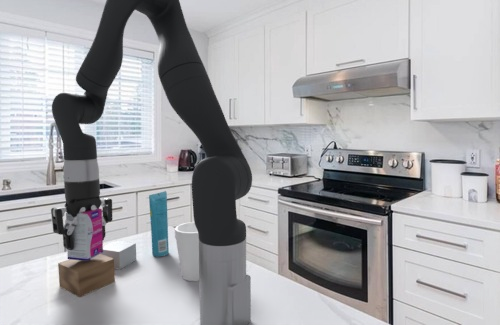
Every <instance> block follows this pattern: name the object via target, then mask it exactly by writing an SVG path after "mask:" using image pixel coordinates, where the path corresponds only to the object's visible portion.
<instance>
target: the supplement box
mask: <svg viewBox="0 0 500 325" xmlns="http://www.w3.org/2000/svg"><path fill="white" fill-rule="evenodd" d="M101 215H102V216H103V208H99V209H98V210H95V211H91V210H90V211H85V212H84V213H80V214H78V221H79V223H78V225H77V226H75V228H74V230H73V232H72V234H73V243H74V249H73V250H67V249H66V251H67V252H66V253H67V260H69V259H70V260H82V261H88V260H90V259H91V258H93V257H95V256H97V255H98V254H101V253H102V252H103V247H104V245H103V244H104V242H103V241H104V240H103V236H102V217H101ZM73 219H74V217H73V216H72V215H71V214H68V213H67V212H65V221H66V220H69V221H73ZM69 225H70V224H69Z"/></svg>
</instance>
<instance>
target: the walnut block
mask: <svg viewBox="0 0 500 325" xmlns="http://www.w3.org/2000/svg"><path fill="white" fill-rule="evenodd" d="M57 267H58V268H57V269H58V280H59V282H58V283H59V284H58V285H59V288H61V289H63V290H65V291H67V292H68V293H71V294H73V295H75V296H76V297H79V298H81V297H84V296H85V295H88V294H90V293H92V292H95V291H97V290H99V289H101V288H104V287H106V286H108V285H111V284H113V283H115V282H116V274H115V269H114V259H113V258H111V257H108V256H105V255H102V254H98V255H97V256H95V257H93V258H91V259H90V260H88V261H82V260H70V259H66V260H64V261H61V262H57Z"/></svg>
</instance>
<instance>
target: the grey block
mask: <svg viewBox="0 0 500 325" xmlns="http://www.w3.org/2000/svg"><path fill="white" fill-rule="evenodd" d="M101 254H102V255H105V256H108V257H111V258H113V259H114V270H122V269H123V268H125V267H127V266H128V265H130V264H131V263H133V262H134V261H136V260H137V244H136V242H128V241H123V240H122V241H121V240H115V241H113V242H110V243H109V244H106V245H103V252H102V253H101Z"/></svg>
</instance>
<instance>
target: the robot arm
mask: <svg viewBox="0 0 500 325" xmlns="http://www.w3.org/2000/svg"><path fill="white" fill-rule="evenodd" d="M135 11H137V12H139V13H140V14H143V15H144V16H146V17H147V18H148V20H149V21H150V23H151V26H152V27H153V29H154V32H155V34H156V37H157V40H158V42H159V50H158V57H157V58H158V59H157V74H158V77H159V80H160V84H161V86H162V88H163V91H164V94H165V96H166V99H167V101H168V104H170V106H171V107H172V109H173V111H174V112H175V114H177V115H178V117H179V118H180V119H181V120H182V121H183V122H184V124H185V125H186V126H187V127H188V128H189V129H190V131H192V132H193V134H194V135H195V136H196V138H197V139H198V141H199V143H200V144H201V146H202V149H203V151H204V154H205V155H206V157H205V158H203V159H201V160H200V161H198V163H197V164H196V165H195V167H194V169H193V172H192V176H191V198H192V199H191V200H192V212H193V213H192V214H193V222H195V226H196V228H197V230H198V235H199V280H198V284H199V285H198V288H199V323H200V324H199V325H248V324H249V323H250V322H251V321H252V320H251V317H252V314H251V312H252V310H251V306H252V305H251V295H252V294H251V293H252V292H251V288H252V287H251V275H249V274H247V226H246V223H245V222H244V221H243V220H241V219H239V218H238V217H237V216H238V215H237V202H236V200H240V199H241V198H243V197H245V196H246V195H248V194H249V191H250V190H251V189H252V185H253V174H252V170H251V167H250V165H249V162H248V161H247V158H246V157H245V154H244V153H243V151H242V149H241V147H240V146H239V143H238V141H237V140H236V138H235V136H234V134H233V133H232V130H231V128H230V126H229V125H228V122H227V119H226V117H225V114H224V112H223V109H222V107H221V105H220V102H219V99H218V98H217V95H216V93H215V90H214V88H213V85H212V82H211V79H210V77H209V74H208V72H207V70H206V68H205V67H206V66H205V65H204V63H203V60H202V59H201V56H200V54H199V52H198V49H197V47H196V44H195V42H194V40H193V38H192V35H191V33H190V31H189V28H188V25H187V22H186V19H185V16H184V12H183V9H182V5H181V3H180V0H106V1H105V4H104V6H103V11H102V14H101V17H100V20H99V24H98V27H97V30H96V33H95V36H94V39H93V41H92V44H91V46H90V48H89V50H88V52H87V54H86V56H85V58H84V59H83V62H82V63H81V66H80V67H79V69H78V70H77V73H76V75H75V82H76V84H77V85H78V86H79V87H80V88H81V89H82V90H84V91H85V92H84V93H83V94H82V93H74V92H60V93H57V95H56V96H54V98H53V100H52V104H51V112H52V113H51V114H52V117H53V119H54V122H55V125H56V128H57V131H58V133H59V136H60V138H61V141H62V149H63V152H62V153H63V172H62V173H63V175H62V176H63V182H64V183H63V184H64V186H63V187H64V199H65V204H64V206H61V207H51V209H50V214H51V225H52V232H53V233H55V234H57V235H62V240H63V241H62V243H63V247H64V248H65V249H66V251H67V250H73V249H74V243H73V234H72V232H73V230H74V228H75V226H77V225H78V223H79V221H78V214H80V213H84V212H85V211H90V210H91V211H95V210H98V209H100V208H101V207H102V215H101V217H102V236H103V241H105V240H104V239H105V238H106V225H107V224H108V223H110V222H113V199H112V198H107V197H103V198H100V195H101V186H100V185H101V184H100V167H99V163H98V154H97V152H98V150H97V140H96V138H95V136H93V135H92V134H89V133H88V134H87V133H85V132H83V130H82V128H81V126H80V125H93V124H94V123H96V122H98V120H100V118H102V116H103V114H104V110H105V106H106V101H107V98H108V97H107V96H108V92H109V89H110V88H111V86H112V84H113V82H114V81H115V80H116V77H117V76H118V74H119V72H120V70H121V66H122V65H123V61H124V60H123V58H124V32H125V28H126V25H127V24H128V21H129V19H130V17H131V16H132V14H133V13H134V12H135ZM66 213H68V214H71V215H72V216H73V217H74V219H73V221H69V220H66V219H65V221H64V218H63V217H64V216H65V214H66ZM69 224H70V225H69Z"/></svg>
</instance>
